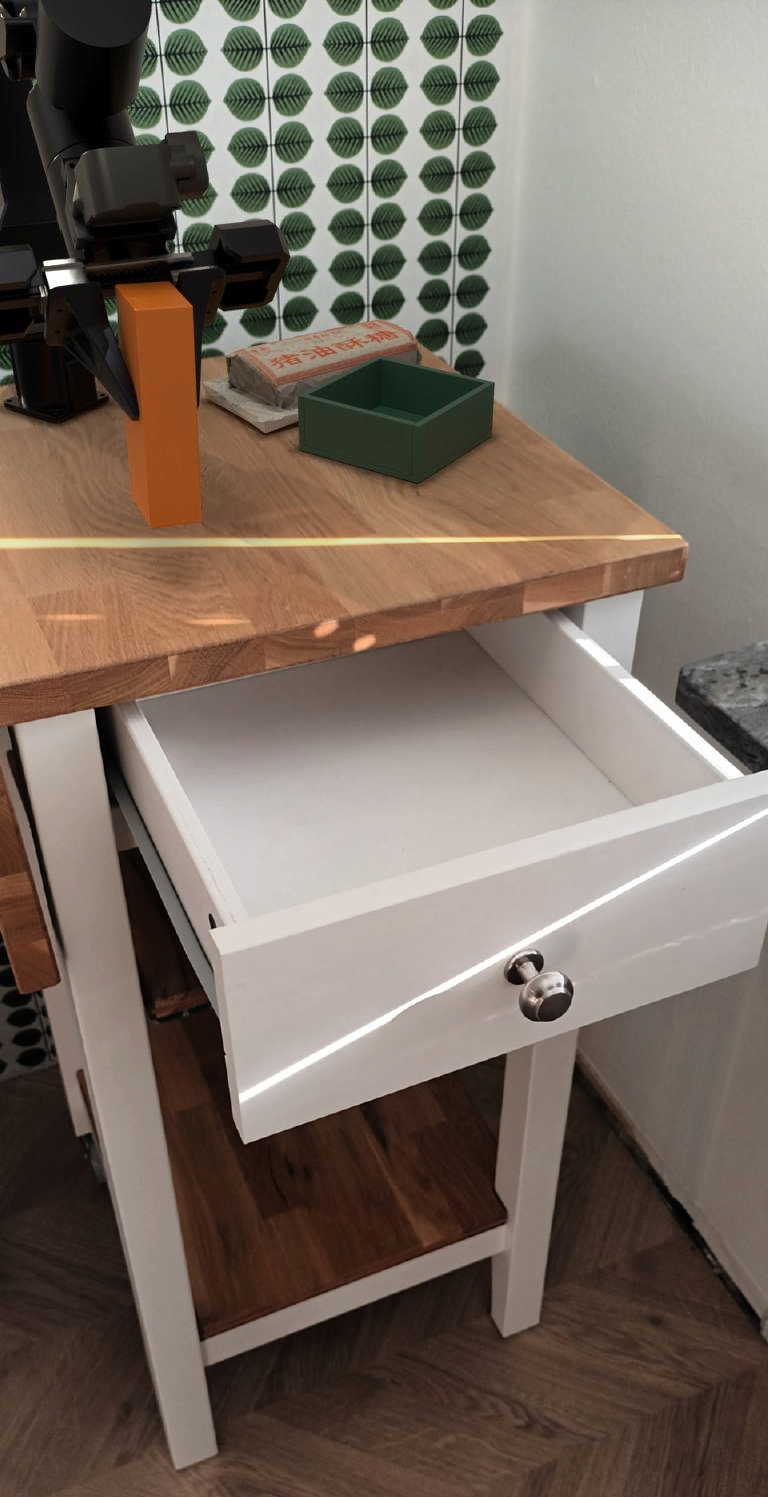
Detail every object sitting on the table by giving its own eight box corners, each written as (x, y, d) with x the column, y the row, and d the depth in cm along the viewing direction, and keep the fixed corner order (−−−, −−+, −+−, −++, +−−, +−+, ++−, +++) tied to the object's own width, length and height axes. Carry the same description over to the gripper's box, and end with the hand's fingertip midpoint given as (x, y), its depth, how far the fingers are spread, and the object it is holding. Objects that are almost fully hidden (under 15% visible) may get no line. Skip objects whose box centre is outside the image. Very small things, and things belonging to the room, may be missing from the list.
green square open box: (299, 450, 99) (297, 395, 96) (378, 407, 106) (378, 355, 104) (418, 483, 94) (419, 426, 91) (492, 436, 101) (495, 382, 99)
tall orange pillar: (131, 496, 79) (114, 284, 71) (180, 490, 80) (169, 280, 72) (150, 529, 75) (135, 309, 67) (202, 522, 76) (193, 305, 68)
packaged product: (370, 306, 113) (439, 335, 107) (370, 359, 116) (437, 390, 110) (197, 344, 104) (261, 378, 98) (202, 400, 107) (264, 437, 101)
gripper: (-74, 86, 63) (5, 370, 62) (271, 66, 69) (351, 323, 68) (-66, 215, 74) (2, 461, 72) (234, 188, 80) (303, 413, 78)
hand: (165, 413), depth 72 cm, fingers closed on tall orange pillar, 3 cm apart
